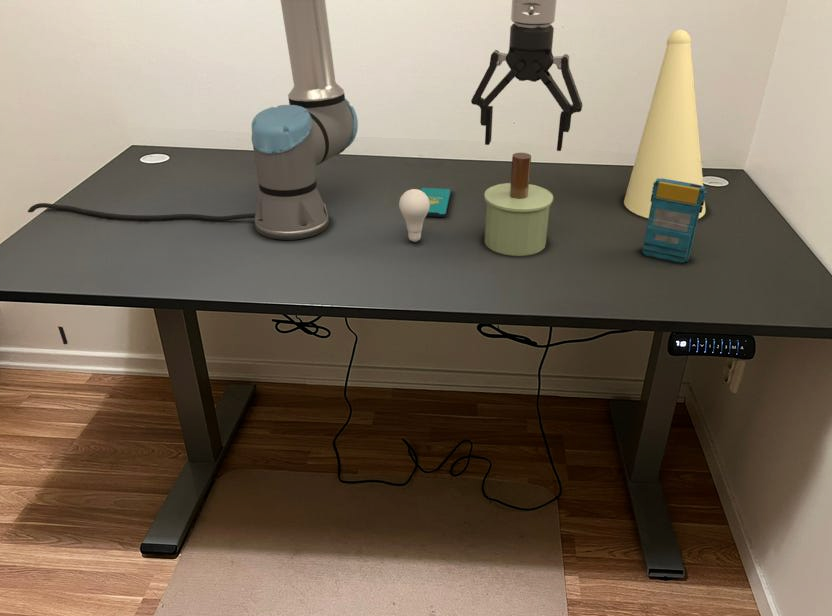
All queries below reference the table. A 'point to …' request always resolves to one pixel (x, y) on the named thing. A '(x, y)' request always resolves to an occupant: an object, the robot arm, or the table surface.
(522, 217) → the canister
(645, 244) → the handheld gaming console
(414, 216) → the lightbulb
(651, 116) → the cone light
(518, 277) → the table surface
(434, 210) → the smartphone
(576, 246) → the table surface
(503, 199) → the canister lid
